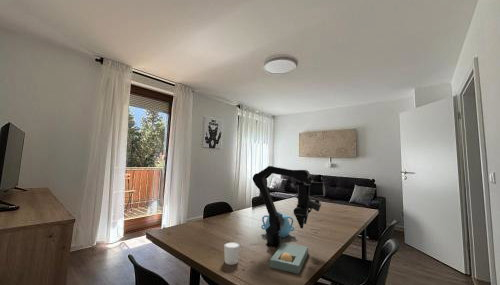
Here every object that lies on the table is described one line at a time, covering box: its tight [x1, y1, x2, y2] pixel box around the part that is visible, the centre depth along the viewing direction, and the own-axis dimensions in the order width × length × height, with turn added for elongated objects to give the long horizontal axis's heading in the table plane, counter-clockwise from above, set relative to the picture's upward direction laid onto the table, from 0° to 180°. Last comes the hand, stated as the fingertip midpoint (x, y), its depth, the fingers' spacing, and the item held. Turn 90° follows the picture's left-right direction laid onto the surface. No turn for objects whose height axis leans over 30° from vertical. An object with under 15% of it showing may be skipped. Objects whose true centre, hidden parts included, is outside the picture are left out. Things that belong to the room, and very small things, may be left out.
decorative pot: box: [260, 211, 295, 238], centre depth 131 cm, size 16×16×14 cm
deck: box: [269, 242, 309, 275], centre depth 96 cm, size 12×22×3 cm, turn 156°
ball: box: [280, 253, 292, 262], centre depth 90 cm, size 5×5×5 cm
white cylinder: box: [223, 241, 241, 266], centre depth 93 cm, size 7×7×7 cm
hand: (303, 226), depth 107 cm, fingers open, 9 cm apart
